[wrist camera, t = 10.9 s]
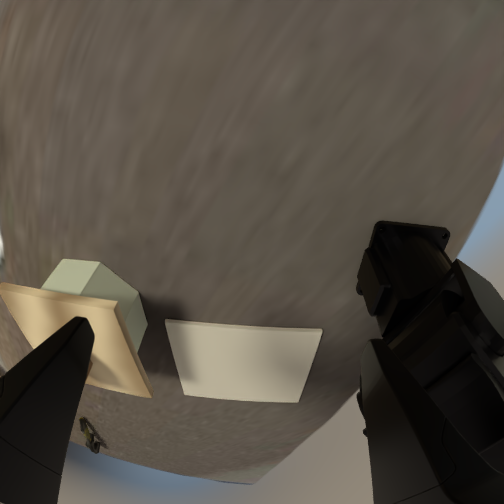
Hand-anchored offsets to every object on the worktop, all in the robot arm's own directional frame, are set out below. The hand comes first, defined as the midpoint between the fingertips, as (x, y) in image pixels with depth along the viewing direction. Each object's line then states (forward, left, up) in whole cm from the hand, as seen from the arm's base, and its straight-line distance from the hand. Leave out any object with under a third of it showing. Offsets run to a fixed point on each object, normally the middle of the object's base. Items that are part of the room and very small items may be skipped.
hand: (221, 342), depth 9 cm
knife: (+35, +58, -12) cm, 69 cm away
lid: (+14, +12, -7) cm, 20 cm away
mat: (0, +20, -12) cm, 23 cm away
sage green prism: (+14, +12, -12) cm, 22 cm away
